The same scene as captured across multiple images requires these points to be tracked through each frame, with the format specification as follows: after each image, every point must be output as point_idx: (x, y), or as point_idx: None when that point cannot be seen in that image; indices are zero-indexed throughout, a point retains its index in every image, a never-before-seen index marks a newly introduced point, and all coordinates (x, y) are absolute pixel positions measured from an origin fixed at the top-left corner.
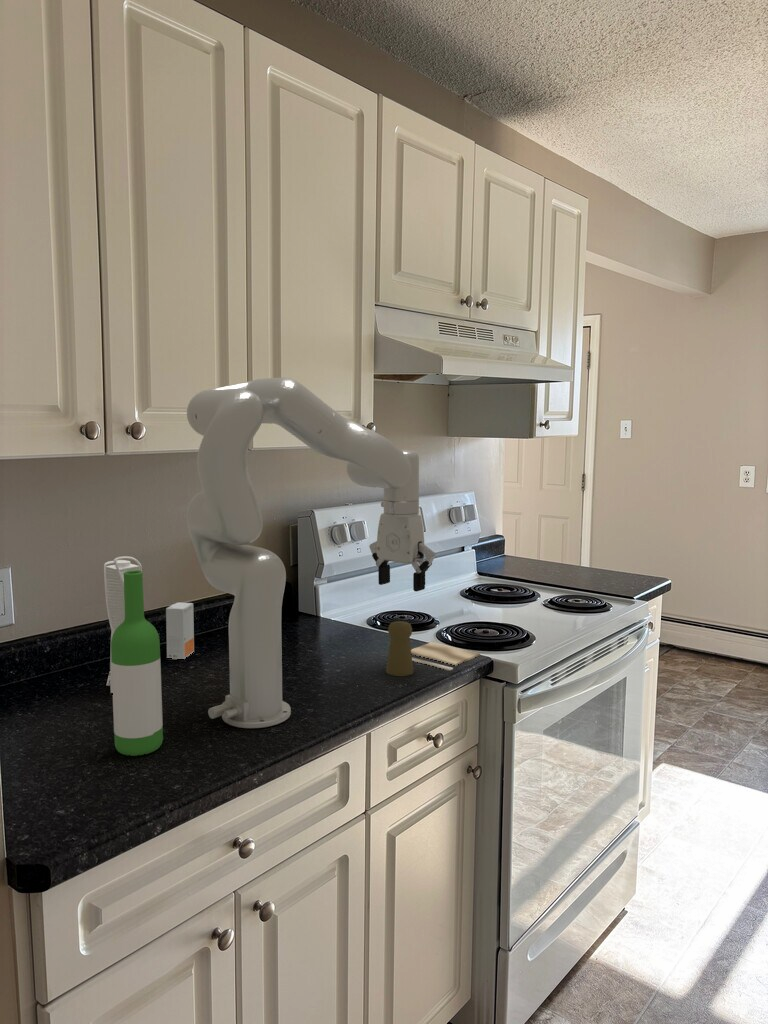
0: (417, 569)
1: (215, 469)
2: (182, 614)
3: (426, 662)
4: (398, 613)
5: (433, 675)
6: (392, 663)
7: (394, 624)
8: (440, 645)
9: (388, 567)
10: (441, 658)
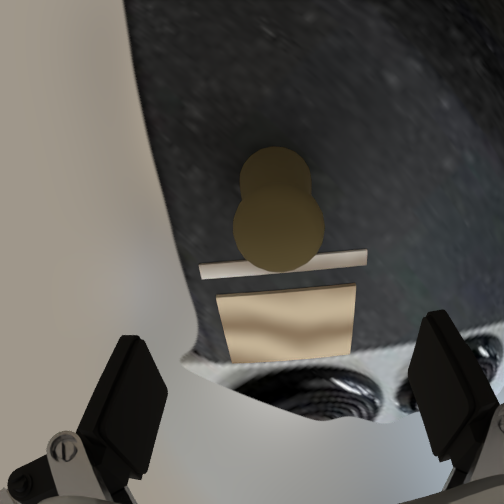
0: (67, 456)
1: None
2: None
3: None
4: None
5: (199, 220)
6: (270, 157)
7: (282, 211)
8: (322, 351)
9: (437, 443)
10: (262, 302)
